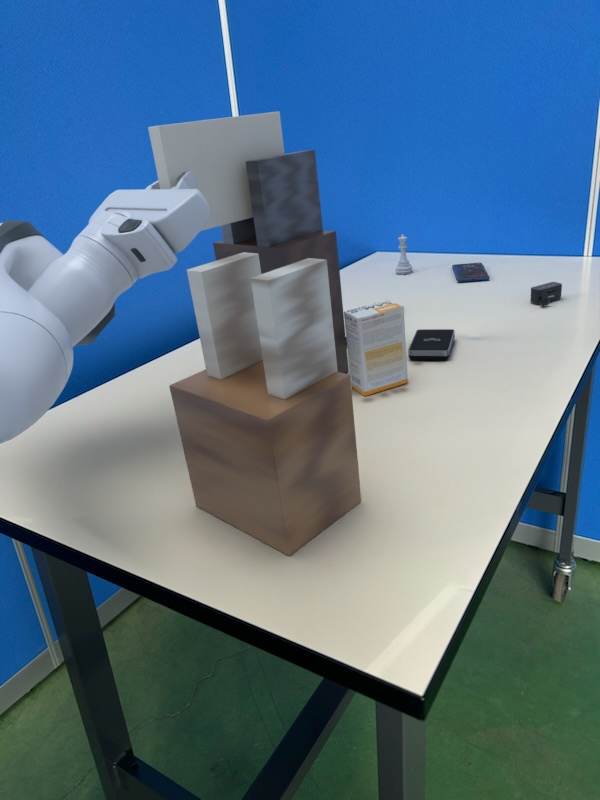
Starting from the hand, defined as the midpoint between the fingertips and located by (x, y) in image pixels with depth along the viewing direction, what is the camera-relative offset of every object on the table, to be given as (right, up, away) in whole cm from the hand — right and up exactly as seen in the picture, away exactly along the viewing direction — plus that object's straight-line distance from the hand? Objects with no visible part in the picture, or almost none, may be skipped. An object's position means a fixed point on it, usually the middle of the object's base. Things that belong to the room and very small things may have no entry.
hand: (183, 175), depth 85 cm
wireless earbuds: (+67, -11, +43) cm, 80 cm away
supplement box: (+29, -28, +16) cm, 43 cm away
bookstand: (+15, -26, +24) cm, 38 cm away
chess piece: (+43, +3, +79) cm, 90 cm away
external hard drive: (+40, -22, +27) cm, 53 cm away
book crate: (+13, -43, -11) cm, 46 cm away
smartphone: (+58, +1, +70) cm, 91 cm away
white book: (+6, -4, +8) cm, 11 cm away
